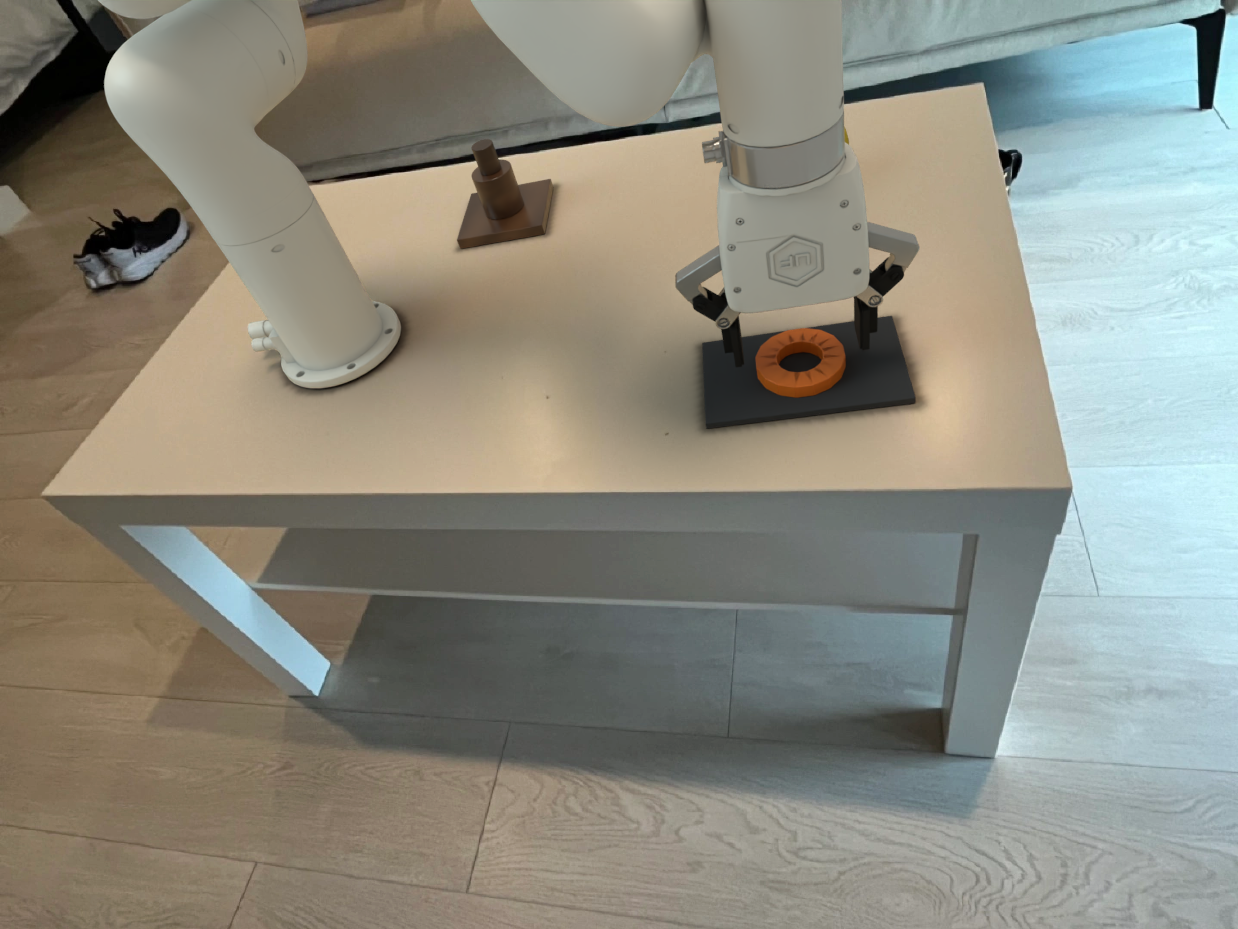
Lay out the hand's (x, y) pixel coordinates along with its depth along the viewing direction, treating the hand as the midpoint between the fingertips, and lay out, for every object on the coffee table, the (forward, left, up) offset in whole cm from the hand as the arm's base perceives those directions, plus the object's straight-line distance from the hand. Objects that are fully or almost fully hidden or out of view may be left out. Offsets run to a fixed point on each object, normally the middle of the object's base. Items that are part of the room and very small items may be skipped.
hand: (799, 347), depth 65 cm
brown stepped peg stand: (-30, +33, -3) cm, 45 cm away
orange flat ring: (0, 0, -2) cm, 2 cm away
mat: (0, 0, -3) cm, 3 cm away
